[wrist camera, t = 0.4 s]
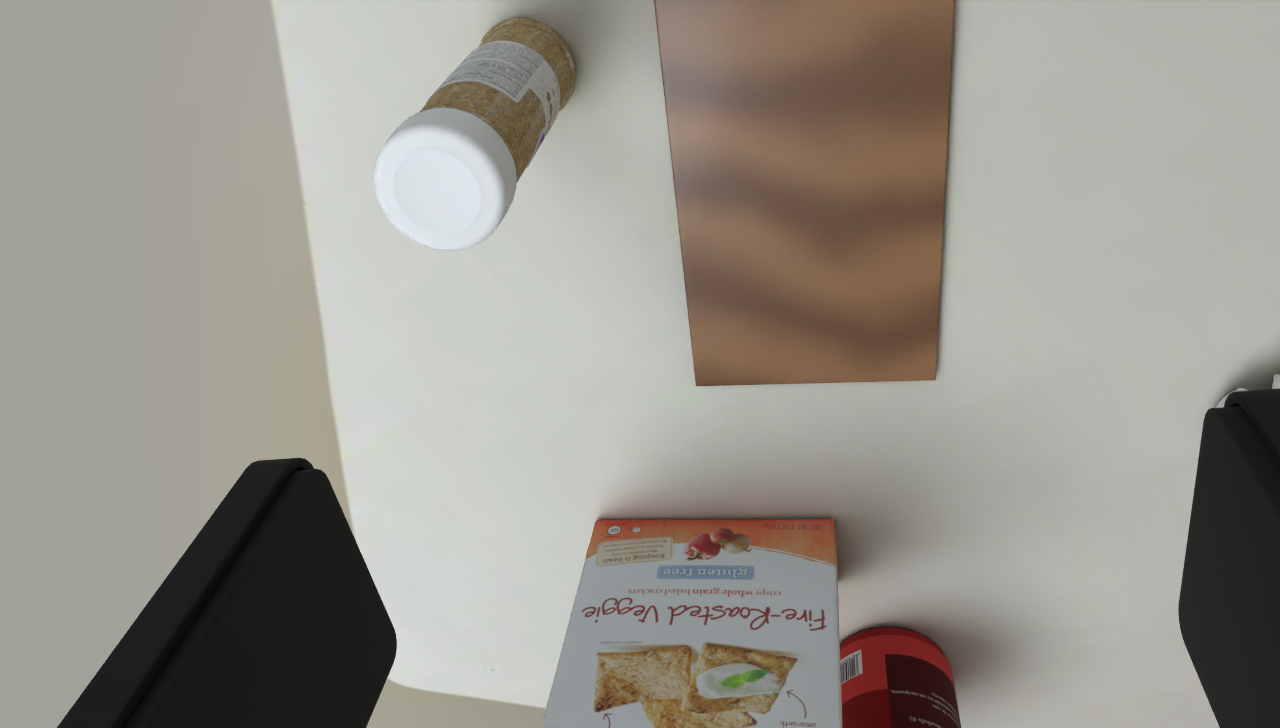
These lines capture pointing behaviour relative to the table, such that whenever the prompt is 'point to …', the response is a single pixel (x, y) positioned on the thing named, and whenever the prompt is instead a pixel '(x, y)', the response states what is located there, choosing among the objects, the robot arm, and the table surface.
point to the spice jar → (475, 137)
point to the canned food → (896, 681)
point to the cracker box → (703, 627)
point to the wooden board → (809, 184)
